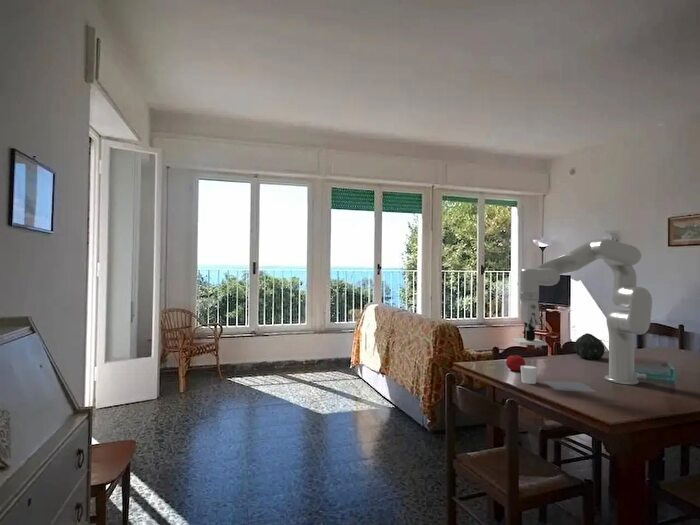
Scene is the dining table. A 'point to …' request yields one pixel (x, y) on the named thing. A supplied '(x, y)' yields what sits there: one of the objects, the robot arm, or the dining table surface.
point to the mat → (569, 386)
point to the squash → (589, 347)
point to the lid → (528, 341)
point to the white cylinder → (528, 374)
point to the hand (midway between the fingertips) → (529, 338)
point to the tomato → (515, 362)
